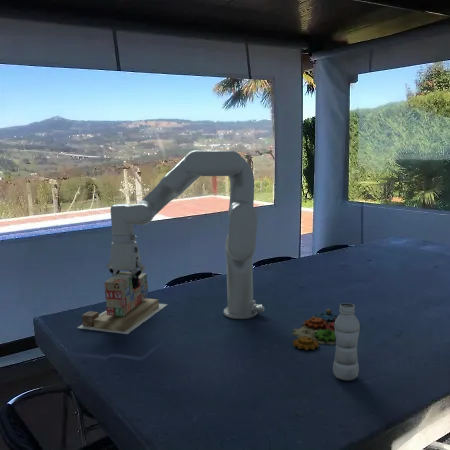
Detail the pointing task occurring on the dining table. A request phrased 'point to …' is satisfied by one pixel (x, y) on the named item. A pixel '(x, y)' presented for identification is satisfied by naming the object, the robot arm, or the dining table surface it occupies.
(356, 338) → the plastic bottle
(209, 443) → the dining table surface
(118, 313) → the stack of blocks
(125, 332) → the cream tile
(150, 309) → the oak plinth
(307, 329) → the gear puzzle
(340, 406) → the dining table surface
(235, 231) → the robot arm
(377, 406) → the dining table surface
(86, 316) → the walnut cube
